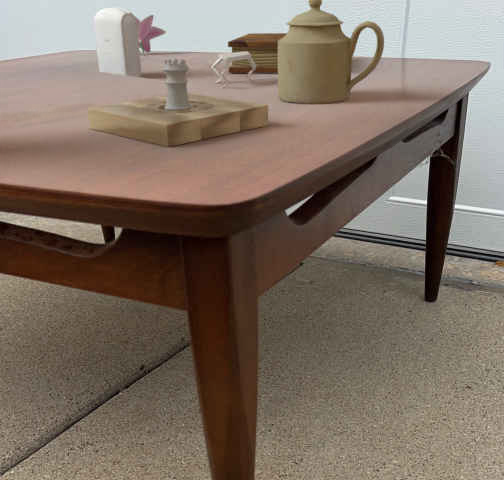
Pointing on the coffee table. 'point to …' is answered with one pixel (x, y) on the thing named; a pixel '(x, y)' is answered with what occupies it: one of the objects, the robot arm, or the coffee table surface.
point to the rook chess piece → (176, 85)
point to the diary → (257, 52)
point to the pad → (178, 119)
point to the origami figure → (233, 57)
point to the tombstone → (117, 42)
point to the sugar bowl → (320, 58)
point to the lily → (147, 32)
